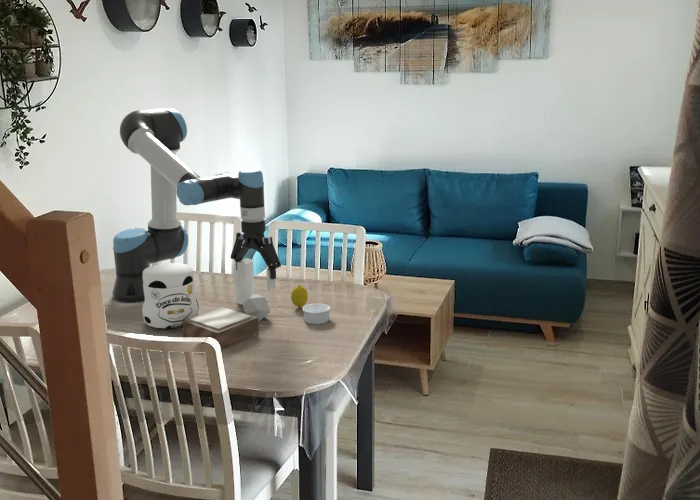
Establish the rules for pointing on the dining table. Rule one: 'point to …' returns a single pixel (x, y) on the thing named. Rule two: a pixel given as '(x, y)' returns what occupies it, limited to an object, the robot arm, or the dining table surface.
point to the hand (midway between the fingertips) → (256, 284)
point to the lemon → (299, 296)
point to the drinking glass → (245, 282)
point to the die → (257, 306)
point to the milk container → (168, 295)
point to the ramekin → (316, 313)
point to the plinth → (222, 326)
